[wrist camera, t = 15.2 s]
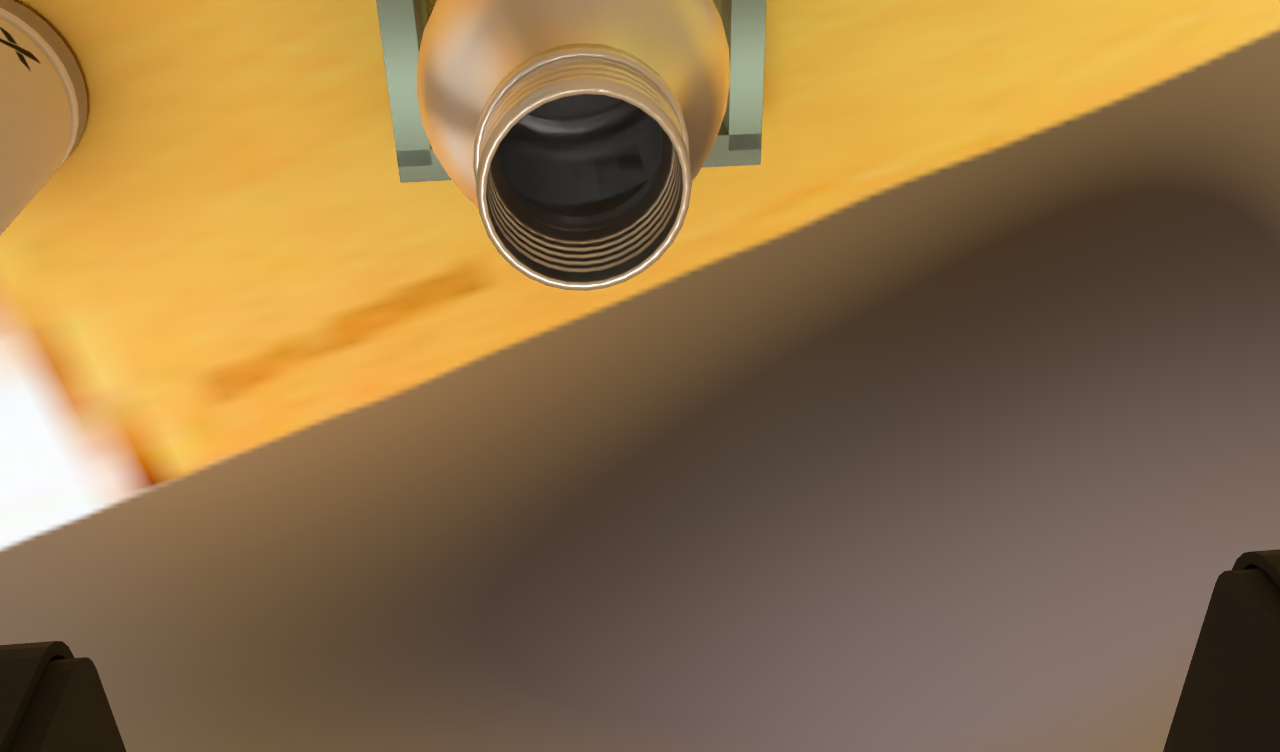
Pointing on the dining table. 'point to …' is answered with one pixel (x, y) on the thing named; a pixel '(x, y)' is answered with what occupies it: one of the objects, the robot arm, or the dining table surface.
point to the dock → (733, 147)
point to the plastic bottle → (575, 125)
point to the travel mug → (34, 106)
